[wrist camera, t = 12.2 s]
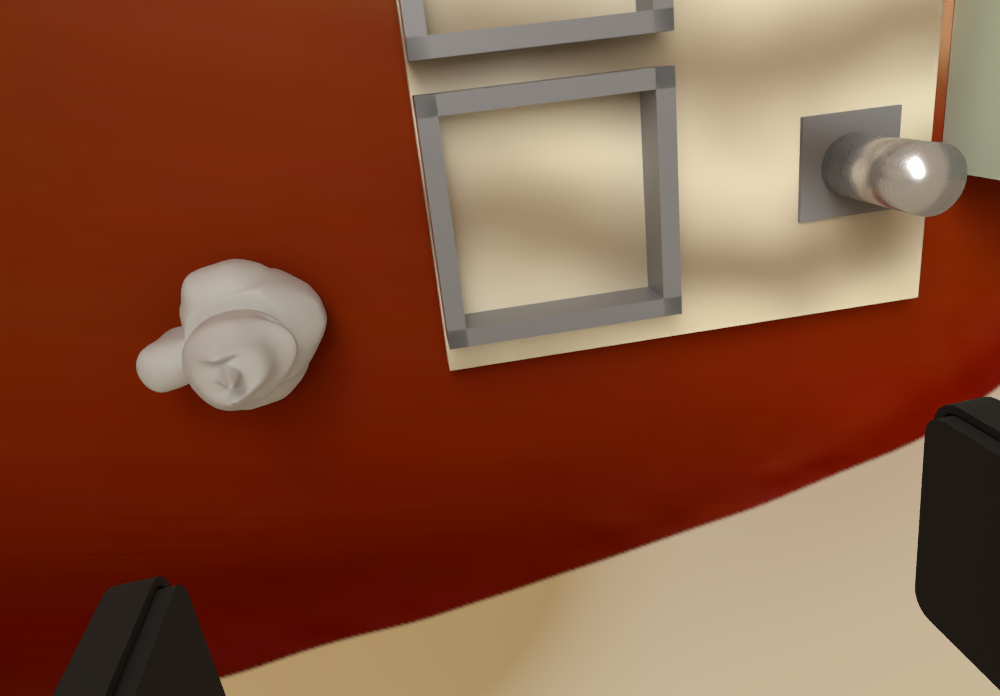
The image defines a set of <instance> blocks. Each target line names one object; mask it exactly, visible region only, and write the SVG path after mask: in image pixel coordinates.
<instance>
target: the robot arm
mask: <svg viewBox="0 0 1000 696" xmlns="http://www.w3.org/2000/svg"><path fill="white" fill-rule="evenodd" d="M915 594H916V597H917V601H918V603H919V606H920V608H921V610H922V611H923V613H924V614H925V616H926V617H927V618H928V619H929V620H930V621H931V622H932V623H933V624H934V625H935V626H936V627H937V628H938V629H939V630H940V631H941V632H942V633H943V634H944V635H945V636H946V637H947V638H948V639H949V640H950V641H951V642H952V643H953V644H954V645H955V646H956V647H957V648H958V649H959V650H960V651H961V652H962V653H963V654H964V655H965V656H966V657H967V658H968V659H969V660H970V661H971V662H972V663H973V664H974V665H975V666H976V667H977V668H978V669H979V670H980V671H981V672H982V673H983V674H984V675H985V676H986V677H987V678H988V679H989V680H990V681H991V682H992V683H993V684H994V685H995V686H996V687H997V688H998V689H999V690H1000V401H999V400H997V399H995V398H992V397H981V398H976V399H972V400H967V401H963V402H958V403H954V404H949V405H944V406H943V407H941V408H940V409H938V411H937V413H936V414H935V417H934V420H932V421H930V422H929V423H928V425H927V426H926V431H925V443H924V457H923V473H922V488H921V505H920V520H919V535H918V550H917V566H916V581H915ZM53 696H225V693H224V690H223V687H222V684H221V682H220V679H219V676H218V673H217V671H216V668H215V665H214V663H213V660H212V657H211V654H210V652H209V649H208V646H207V644H206V641H205V638H204V635H203V633H202V630H201V627H200V625H199V622H198V619H197V616H196V614H195V611H194V608H193V606H192V603H191V600H190V597H189V595H188V593H187V591H186V589H185V588H184V587H183V586H182V585H176V586H170V584H169V582H168V581H167V580H166V579H165V578H164V577H161V576H158V577H153V578H149V579H144V580H140V581H135V582H130V583H126V584H121V585H117V586H112V587H110V588H108V589H107V591H106V592H105V593H104V595H103V597H102V599H101V601H100V603H99V605H98V607H97V609H96V611H95V612H94V614H93V616H92V618H91V620H90V622H89V624H88V626H87V628H86V630H85V632H84V634H83V636H82V638H81V640H80V642H79V644H78V646H77V648H76V650H75V652H74V654H73V656H72V658H71V660H70V662H69V664H68V666H67V668H66V670H65V672H64V674H63V676H62V678H61V680H60V682H59V684H58V686H57V688H56V690H55V692H54V694H53Z"/></svg>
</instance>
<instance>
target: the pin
mask: <svg viewBox="0 0 1000 696" xmlns="http://www.w3.org/2000/svg"><path fill="white" fill-rule="evenodd" d="M821 174H822V179H823V181H824V184H825V185H826V187H827V188H828V189H829V190H830V191H831V192H833V193H835V194H837V195H841V196H845V197H849V198H852V199H856V200H860V201H864V202H868V203H872V204H875V205H879V206H883V207H887V208H891V209H894V210H898V211H902V212H906V213H910V214H914V215H917V216H922V217H931V216H935V215H938V214H940V213H942V212H944V211H946V210H947V209H949V208H950V207H951V206H952V205H953V204H954V203H955V202H956V201H957V199H958V198H959V197H960V195H961V193H962V191H963V189H964V187H965V184H966V180H967V164H966V160H965V158H964V156H963V154H962V153H961V152H960V150H958V149H957V148H956V147H954V146H953V145H950V144H946V143H939V142H931V141H922V140H914V139H906V138H898V137H889V136H881V135H873V134H864V133H849V134H845V135H843V136H841V137H839V138H838V139H837V140H835V141H834V142H833V143H832V144H831V145H830V147H829V148H828V149H827V151H826V153H825V155H824V157H823V161H822V166H821Z"/></svg>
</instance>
